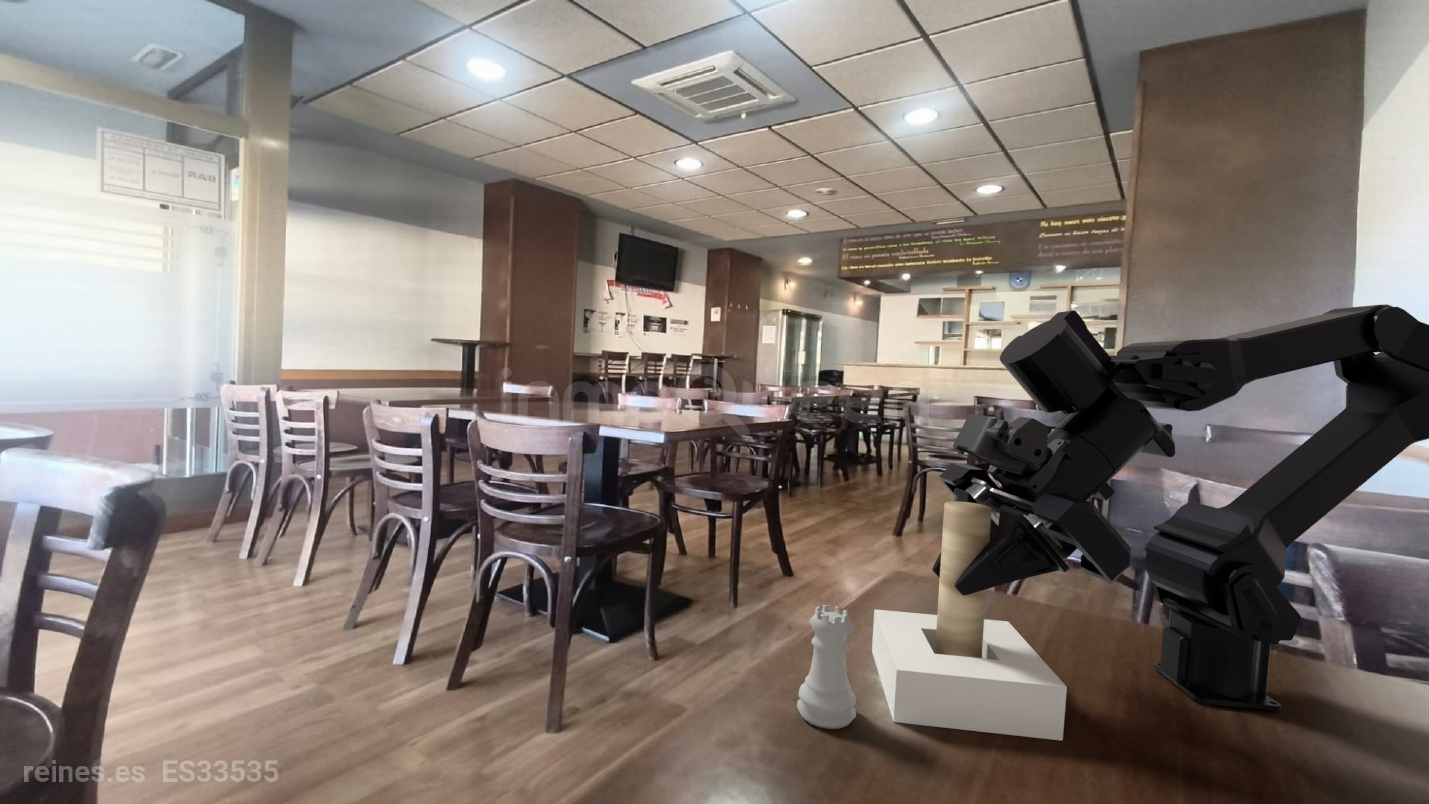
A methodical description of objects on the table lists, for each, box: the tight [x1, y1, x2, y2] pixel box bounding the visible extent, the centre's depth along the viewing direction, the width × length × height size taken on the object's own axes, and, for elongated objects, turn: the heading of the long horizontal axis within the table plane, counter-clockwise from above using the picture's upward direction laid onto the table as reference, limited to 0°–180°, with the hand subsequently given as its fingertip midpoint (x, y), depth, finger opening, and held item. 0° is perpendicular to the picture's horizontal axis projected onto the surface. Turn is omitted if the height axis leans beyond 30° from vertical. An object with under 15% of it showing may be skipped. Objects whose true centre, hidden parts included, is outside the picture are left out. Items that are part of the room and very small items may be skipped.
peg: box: [935, 501, 992, 658], centre depth 51 cm, size 4×4×13 cm
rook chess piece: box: [796, 604, 857, 730], centre depth 47 cm, size 4×4×8 cm
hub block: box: [871, 609, 1068, 741], centre depth 51 cm, size 12×12×4 cm
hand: (946, 582), depth 51 cm, fingers closed on peg, 4 cm apart
